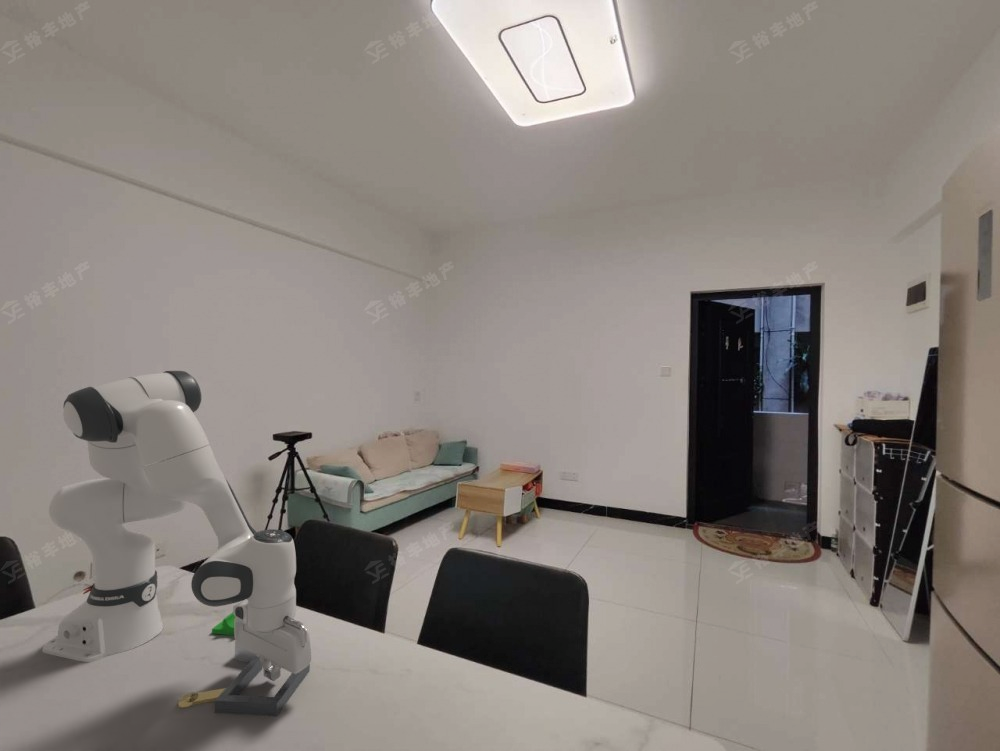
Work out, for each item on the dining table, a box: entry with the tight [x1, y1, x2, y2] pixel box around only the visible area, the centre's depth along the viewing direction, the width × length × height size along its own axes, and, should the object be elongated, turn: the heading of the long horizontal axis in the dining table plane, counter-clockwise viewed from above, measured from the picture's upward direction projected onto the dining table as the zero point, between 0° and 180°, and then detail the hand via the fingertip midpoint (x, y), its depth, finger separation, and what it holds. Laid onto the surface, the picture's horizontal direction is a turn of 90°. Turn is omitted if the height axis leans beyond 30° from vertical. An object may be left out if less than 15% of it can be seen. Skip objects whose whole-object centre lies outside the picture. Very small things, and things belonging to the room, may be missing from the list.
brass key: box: [177, 687, 227, 709], centre depth 84 cm, size 8×3×1 cm, turn 107°
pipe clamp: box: [211, 611, 236, 636], centre depth 107 cm, size 11×4×5 cm
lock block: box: [234, 640, 260, 664], centre depth 98 cm, size 6×5×4 cm
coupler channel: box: [214, 657, 311, 717], centre depth 87 cm, size 12×12×3 cm
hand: (271, 677), depth 89 cm, fingers closed
